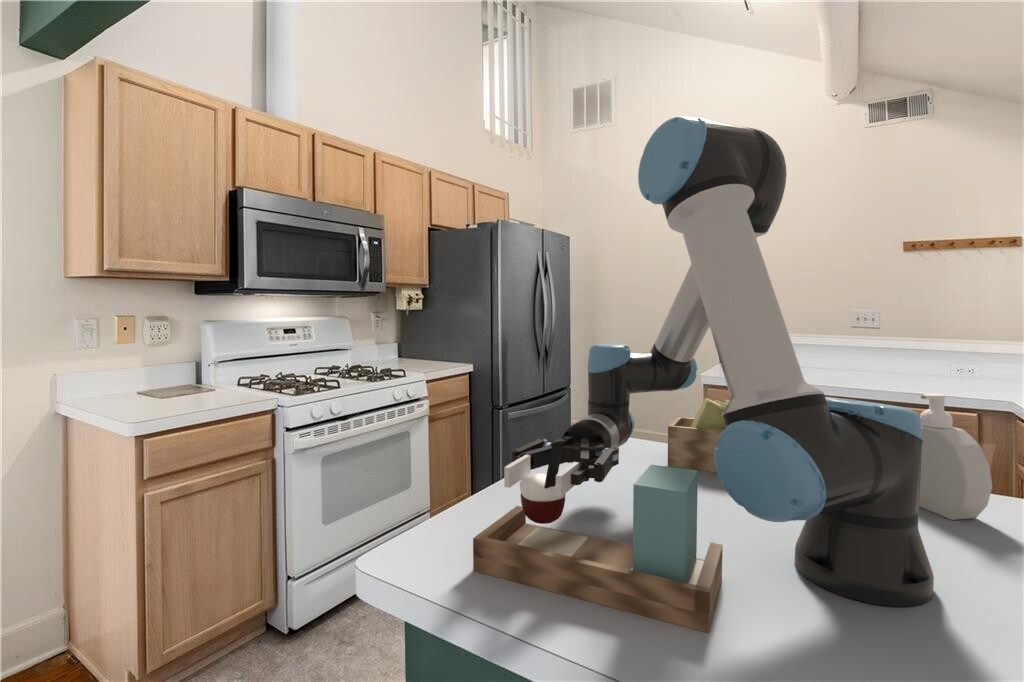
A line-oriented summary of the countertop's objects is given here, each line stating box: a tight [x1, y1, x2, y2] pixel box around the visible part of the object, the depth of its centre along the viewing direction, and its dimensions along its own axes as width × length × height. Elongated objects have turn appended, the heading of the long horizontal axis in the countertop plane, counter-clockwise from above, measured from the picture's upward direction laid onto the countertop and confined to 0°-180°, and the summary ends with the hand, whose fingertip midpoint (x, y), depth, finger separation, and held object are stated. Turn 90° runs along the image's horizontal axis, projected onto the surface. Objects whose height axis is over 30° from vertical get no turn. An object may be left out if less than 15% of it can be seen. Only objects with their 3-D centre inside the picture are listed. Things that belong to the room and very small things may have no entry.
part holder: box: [667, 416, 723, 474], centre depth 116 cm, size 26×11×9 cm, turn 62°
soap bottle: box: [919, 393, 993, 521], centre depth 92 cm, size 16×5×20 cm, turn 8°
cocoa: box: [519, 441, 566, 525], centre depth 73 cm, size 10×6×12 cm, turn 2°
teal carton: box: [632, 464, 699, 583], centre depth 66 cm, size 6×9×12 cm
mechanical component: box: [691, 397, 730, 430], centre depth 116 cm, size 8×17×20 cm, turn 78°
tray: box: [472, 505, 723, 634], centre depth 70 cm, size 30×13×4 cm, turn 62°
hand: (532, 481), depth 69 cm, fingers closed on cocoa, 7 cm apart
